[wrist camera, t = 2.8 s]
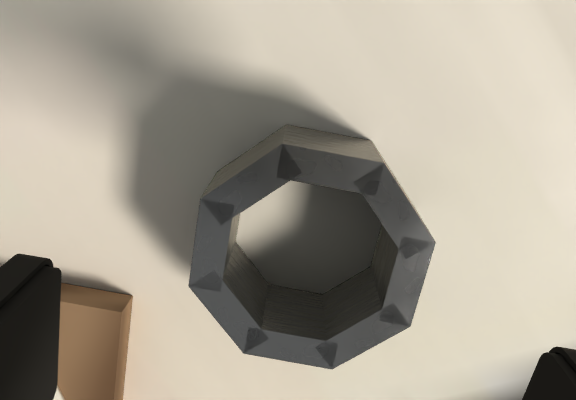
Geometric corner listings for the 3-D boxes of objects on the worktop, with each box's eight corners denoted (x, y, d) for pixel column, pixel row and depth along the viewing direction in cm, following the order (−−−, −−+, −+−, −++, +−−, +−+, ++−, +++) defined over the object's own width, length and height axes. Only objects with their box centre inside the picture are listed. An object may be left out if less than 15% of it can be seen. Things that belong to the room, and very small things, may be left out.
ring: (431, 152, 17) (455, 176, 14) (381, 329, 19) (394, 380, 17) (226, 113, 17) (209, 129, 14) (199, 296, 19) (180, 342, 16)
